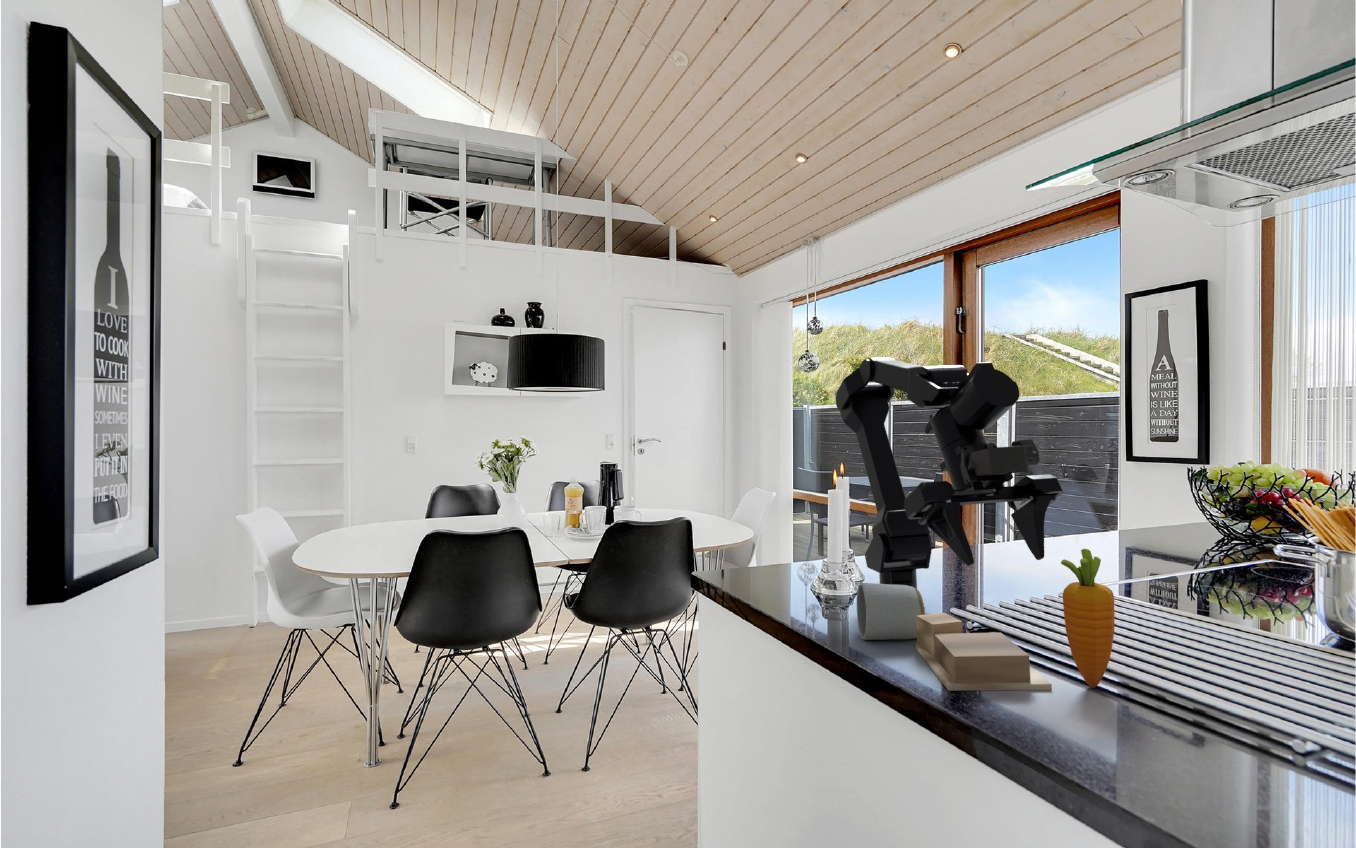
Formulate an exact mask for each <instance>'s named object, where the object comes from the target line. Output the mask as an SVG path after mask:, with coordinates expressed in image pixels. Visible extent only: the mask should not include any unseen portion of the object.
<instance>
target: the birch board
mask: <svg viewBox="0 0 1356 848" xmlns="http://www.w3.org/2000/svg"><path fill="white" fill-rule="evenodd" d="M914 649H915V650H916V651H917V652H918V654H919V655H920V656H921V658H923V660H924V661H925V662H926V664H927V666H928V667H930V669H931V670H932V672H933V673H934V674H935V676H936V677H937V678H938V680H939V681H940V682H941V683H942V684H943V686H944V687H945V688H946V690H947V691H948V692H949V691H1030V690H1031V691H1036V690H1037V691H1047V690H1049V691H1050V690H1053V687H1052V686H1053V683H1051V682H1050V681H1049V680H1048V679H1046V678H1045V677H1044V676H1043V675H1041V674H1040V673H1039V672H1038V671H1036V670H1035V669H1034V668H1033V667H1032V666H1031V665H1030V682H1031V683H955V682H954V681H953V679H952V678H951V677H950V676H949V674H948V673H947V672H946V671H945V670H944V668H943V667H942V666H941V665H940V664H939V662H938V661H937V660H936V659H935V656H933V655H931V654H930V653H928V652H926V651H925V650H923V649H921V648H920V647H918V644H917V643H914Z"/></svg>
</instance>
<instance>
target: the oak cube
mask: <svg viewBox="0 0 1356 848" xmlns="http://www.w3.org/2000/svg"><path fill="white" fill-rule="evenodd" d="M916 624H917V638H916V641H917V644H918V647H920V648H921V649H923V650H925V651H926V652H928V653H930V654H931V655H933V656H935V649H934V634H952V633H964V632H963V621H962V620H960V619H959V618H956V617H954V616H952V615H950V614H947V613H946V612H937V613H928V614H925V615H917V616H916Z"/></svg>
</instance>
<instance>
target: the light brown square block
mask: <svg viewBox="0 0 1356 848" xmlns="http://www.w3.org/2000/svg"><path fill="white" fill-rule="evenodd" d="M934 649H935V659H936V660H937V661H938V662H939V664H940V665H941V666H942V667H943V668H944V670H945V671H946V672H947V673H948V674H949V676H950V677H951V678H952V679H953V681H954V682H955V683H1031V682H1030V666H1031V665H1030V663H1031V662H1030V655H1029V654H1028V653H1027V652H1026V651H1024V649H1022V648H1021V647H1019V646H1018V645H1017V644H1016V643H1014V642H1013V641H1012V640H1011V639H1009V638H1008V637H1007V636H1006V635H1005V634H1003V633H1002V632H971V633H970V632H968V633H967V632H963V633H952V634H934Z"/></svg>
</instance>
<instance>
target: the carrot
mask: <svg viewBox="0 0 1356 848" xmlns="http://www.w3.org/2000/svg"><path fill="white" fill-rule="evenodd" d="M1080 553H1081V556H1082V558H1081V559H1079V562H1080V563H1079V564H1080V565H1078V567H1077V565H1075V564H1074V563H1073V562H1072V561H1070V560H1067V559H1062V560H1060V564H1061V565H1062V566H1064V567H1067V569H1069V570H1070V571H1071V572H1072V573H1073V574H1074V575H1075V577H1076V578H1077V580H1078V581H1076V582H1073V581H1072V582H1070V583H1069V584H1068V585H1066V587H1065V588H1064V589H1063V591H1062V605H1063V616H1064V626H1065V632H1066V636H1067V641H1068V644H1069V649H1070V652H1071V655H1072V656H1071V657H1072V659H1073V661H1074V663H1075V666H1076V668H1077V670H1078V671H1079V673H1080V675H1081V677H1082V678H1083V680H1084V682H1085V683H1086V684H1087V685H1088V686H1089V687H1090V688H1092V689H1095V688H1096V687H1097V686H1099V684H1100V682H1101V681H1102V679H1103V677H1104V674H1105V672H1106V670H1107V668H1108V665H1109V663H1110V660H1111V655H1112V651H1113V649H1112V648H1113V644H1114V643H1113V642H1114V638H1115V637H1114V636H1115V596H1114V593H1113V590H1111V588H1110V587H1108V586H1106V585H1104V584H1100V583H1097V582H1095V579H1096V577H1097V574H1098V572H1099V569H1100V566H1101V563H1102V560H1101V558H1100V557H1099V556H1093V555H1092V551H1091V550H1090V549H1088V548H1083V549H1081V550H1080Z"/></svg>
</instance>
